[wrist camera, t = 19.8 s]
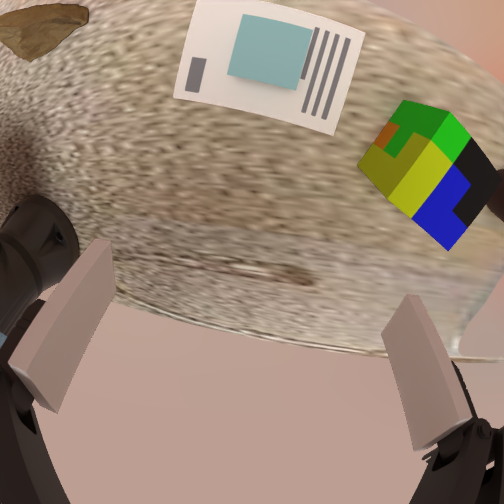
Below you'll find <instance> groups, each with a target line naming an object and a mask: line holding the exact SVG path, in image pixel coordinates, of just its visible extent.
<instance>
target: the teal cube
mask: <svg viewBox="0 0 504 504" xmlns="http://www.w3.org/2000/svg"><path fill="white" fill-rule="evenodd" d="M312 32H313V30H311V29H308V28H304V27H301V26H297V25H293V24H290V23H286V22H281V21H277V20H273V19H268V18H263V17H258V16H253V15H247V14H243V15H242V19H241V22H240V26H239V29H238V33H237V37H236V40H235V44H234V48H233V52H232V56H231V60H230V64H229V68H228V72H227V75H230V76H235V77H240V78H245V79H250V80H255V81H259V82H264V83H268V84H272V85H276V86H280V87H284V88H288V89H291V90H295V91H296V89H297V85H298V82H299V78H300V74H301V71H302V67H303V64H304V60H305V57H306V53H307V50H308V46H309V43H310V39H311V36H312Z"/></svg>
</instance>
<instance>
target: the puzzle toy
mask: <svg viewBox="0 0 504 504" xmlns="http://www.w3.org/2000/svg"><path fill="white" fill-rule="evenodd" d="M357 166H358V167H359V168H360V169H361V170H362V172H363V173H364V174H365V175H366V176H367V177H368V178H369V179H370V180H371V181H372V183H373V184H374V185H375V186H376V187H377V188H378V189H379V190H380V192H381V193H382V194H383V195H384V196H385V197H386V199H387V200H389V201H390V202H391V203H392V204H394V205H395V206H396V207H397V208H399V209H400V210H401V211H402V212H404V213H405V214H406V215H407V216H408V217H410V218H411V219H412V220H413V221H414V222H416V223H417V224H418V225H419V226H420V227H421V228H423V229H424V230H425V231H426V232H427V233H428V234H429V235H431V236H432V237H433V238H434V239H435V240H436V241H437V242H438V243H439V244H441V245H442V246H443V247H444V248H445V249H446V250H447V251H449V250H450V249H451V247H452V246H453V245H454V244H455V243H456V242H457V240H458V239H459V238H460V237H461V236H462V234H463V233H464V232H465V231H466V229H467V228H468V227H469V226H470V224H471V223H472V222H473V221H474V219H475V218H476V217H477V215H478V214H479V213H480V211H481V210H482V209H483V207H484V206H485V205H486V203H487V202H488V201H489V199H490V198H491V196H492V195H493V194H494V192H495V191H496V189H497V188H498V186H499V185H500V183H501V182H502V178H501V177H500V175H499V174H498V172H497V171H496V169H495V168H494V167H493V165H492V164H491V162H490V161H489V159H488V158H487V157H486V155H485V154H484V153H483V151H482V150H481V149H480V147H479V146H478V145H477V143H476V142H475V141H474V139H473V138H472V137H471V136H470V134H469V133H468V132H467V131H466V130H465V128H464V127H463V126H462V125H461V124H460V122H459V121H458V120H457V119H456V118H455V117H454V116H453V114H452V113H451V112H449V111H446V110H442V109H439V108H435V107H431V106H427V105H423V104H419V103H415V102H411V101H406V100H403V101H402V103H401V104H400V106H399V107H398V109H397V110H396V112H395V113H394V114H393V116H392V117H391V119H390V120H389V122H388V123H387V124H386V126H385V127H384V129H383V130H382V131H381V133H380V134H379V136H378V137H377V138H376V140H375V141H374V143H373V144H372V145H371V147H370V148H369V150H368V151H367V152H366V154H365V155H364V156H363V158H362V159H361V161H360V162H359V163H358V165H357Z"/></svg>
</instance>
